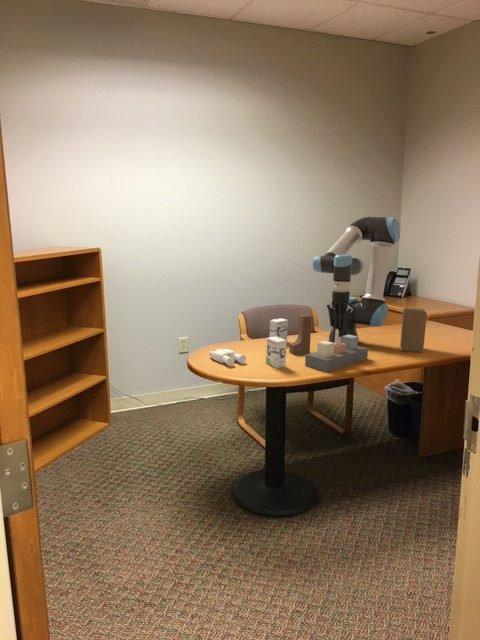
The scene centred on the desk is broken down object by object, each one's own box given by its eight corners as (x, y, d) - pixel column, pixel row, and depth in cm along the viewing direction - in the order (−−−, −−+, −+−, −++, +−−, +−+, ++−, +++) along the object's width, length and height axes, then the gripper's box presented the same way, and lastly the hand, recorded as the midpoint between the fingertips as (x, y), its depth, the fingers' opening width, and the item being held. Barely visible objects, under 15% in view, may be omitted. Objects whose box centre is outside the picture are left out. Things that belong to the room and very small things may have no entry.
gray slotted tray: (305, 365, 222) (305, 354, 221) (345, 353, 242) (346, 343, 241) (327, 372, 213) (327, 360, 212) (367, 358, 234) (368, 348, 232)
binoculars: (227, 367, 218) (227, 357, 217) (206, 358, 231) (206, 348, 230) (246, 363, 224) (246, 353, 223) (225, 355, 237) (225, 345, 236)
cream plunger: (316, 358, 221) (317, 342, 220) (323, 356, 224) (324, 340, 223) (326, 360, 217) (326, 344, 216) (333, 358, 221) (334, 342, 219)
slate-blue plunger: (341, 350, 233) (342, 336, 232) (347, 349, 236) (348, 334, 235) (350, 353, 230) (351, 338, 228) (356, 351, 233) (357, 336, 231)
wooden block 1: (293, 354, 238) (294, 317, 234) (288, 352, 242) (290, 315, 239) (310, 353, 242) (311, 316, 238) (305, 350, 246) (307, 314, 242)
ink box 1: (275, 344, 256) (276, 321, 254) (268, 342, 260) (269, 320, 257) (287, 342, 262) (288, 319, 259) (280, 340, 265) (281, 318, 263)
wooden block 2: (423, 353, 245) (427, 312, 241) (401, 351, 247) (405, 311, 243) (420, 347, 255) (424, 308, 250) (399, 346, 257) (403, 307, 252)
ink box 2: (265, 363, 224) (266, 337, 222) (274, 361, 227) (275, 336, 225) (277, 368, 217) (277, 341, 215) (286, 366, 220) (287, 340, 217)
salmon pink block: (329, 358, 227) (330, 343, 226) (335, 356, 231) (336, 341, 229) (338, 361, 224) (339, 345, 222) (345, 359, 227) (346, 344, 226)
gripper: (323, 289, 223) (320, 341, 228) (348, 293, 214) (345, 347, 219) (334, 288, 228) (331, 339, 233) (358, 291, 219) (355, 344, 224)
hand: (337, 343), depth 226 cm, fingers closed
